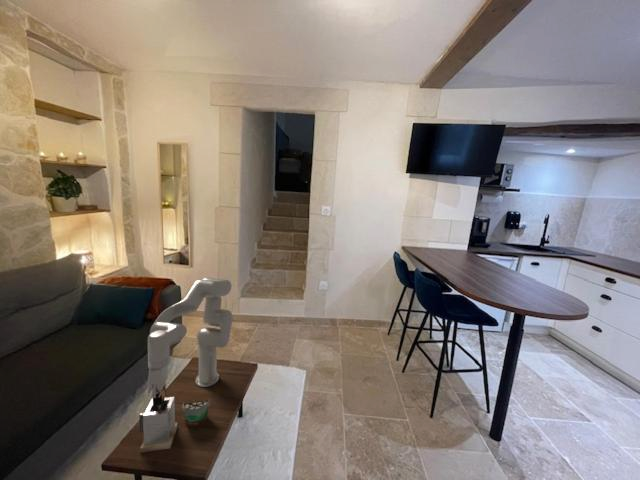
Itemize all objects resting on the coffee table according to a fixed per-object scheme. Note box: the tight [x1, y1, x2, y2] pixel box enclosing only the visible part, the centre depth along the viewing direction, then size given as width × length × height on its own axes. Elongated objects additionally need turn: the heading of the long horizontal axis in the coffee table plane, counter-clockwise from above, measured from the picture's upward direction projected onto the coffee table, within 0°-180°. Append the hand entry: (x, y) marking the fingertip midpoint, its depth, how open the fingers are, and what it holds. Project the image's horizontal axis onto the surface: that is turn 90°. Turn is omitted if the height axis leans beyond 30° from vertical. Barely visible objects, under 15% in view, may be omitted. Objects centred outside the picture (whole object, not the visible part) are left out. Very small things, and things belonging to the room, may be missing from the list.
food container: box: [181, 398, 211, 429], centre depth 121 cm, size 12×6×10 cm, turn 105°
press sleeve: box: [139, 396, 176, 446], centre depth 111 cm, size 9×12×14 cm
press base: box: [139, 421, 179, 454], centre depth 113 cm, size 11×11×2 cm
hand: (159, 400), depth 110 cm, fingers closed on plunger, 4 cm apart
